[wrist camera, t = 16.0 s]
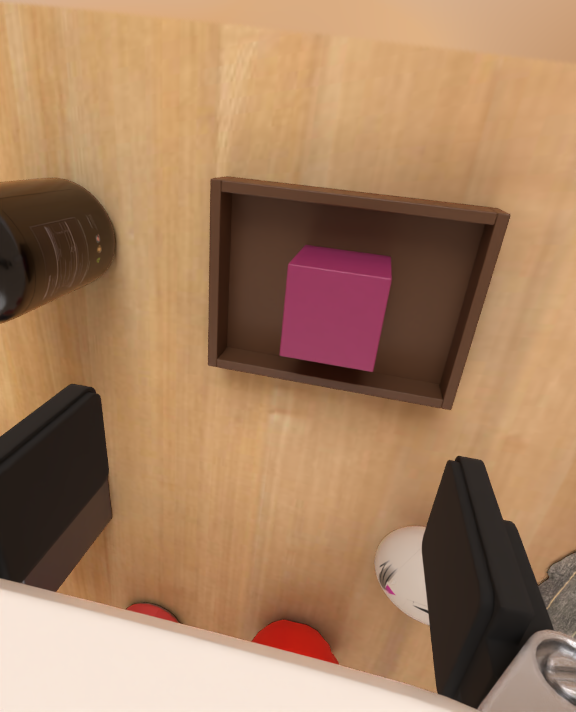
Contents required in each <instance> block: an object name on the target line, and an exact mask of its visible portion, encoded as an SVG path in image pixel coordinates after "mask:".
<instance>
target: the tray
mask: <svg viewBox="0 0 576 712" xmlns="http://www.w3.org/2000/svg"><path fill="white" fill-rule="evenodd" d="M509 219H510V214H508V213H506V212H504V211H502V210H500V209H498V208H491V207H483V206H474V205H466V204H457V203H449V202H440V201H432V200H423V199H415V198H406V197H398V196H389V195H381V194H372V193H364V192H355V191H346V190H338V189H329V188H321V187H312V186H304V185H295V184H287V183H278V182H270V181H261V180H253V179H244V178H236V177H220V178H213V179H211V191H210V261H209V332H208V365H209V366H214V367H219V368H224V369H230V370H235V371H241V372H246V373H252V374H257V375H263V376H268V377H273V378H279V379H284V380H290V381H295V382H301V383H306V384H312V385H317V386H322V387H328V388H333V389H339V390H344V391H350V392H355V393H361V394H366V395H371V396H377V397H382V398H388V399H393V400H399V401H404V402H409V403H415V404H420V405H426V406H431V407H437V408H443V409H448V410H451V409H452V405H453V402H454V399H455V396H456V392H457V389H458V386H459V382H460V379H461V376H462V373H463V369H464V366H465V363H466V359H467V356H468V353H469V350H470V346H471V343H472V340H473V337H474V333H475V330H476V327H477V323H478V320H479V317H480V314H481V310H482V307H483V304H484V301H485V297H486V294H487V291H488V287H489V284H490V281H491V278H492V274H493V271H494V268H495V264H496V261H497V258H498V255H499V251H500V248H501V245H502V242H503V238H504V235H505V232H506V228H507V225H508V222H509ZM305 245H311V246H318V247H326V248H333V249H340V250H348V251H355V252H362V253H369V254H377V255H384V256H390V257H391V270H392V282H391V287H390V291H389V296H388V301H387V306H386V311H385V316H384V321H383V326H382V331H381V336H380V341H379V346H378V351H377V356H376V360H375V365H374V370H373V372H370V371H364V370H358V369H352V368H347V367H341V366H335V365H330V364H324V363H318V362H313V361H307V360H301V359H296V358H290V357H284V356H280V344H281V333H282V322H283V312H284V301H285V290H286V280H287V269H288V264H289V263H290V262H291V260H292V259H293V258H294V257H295V256H296V255H297V254H298V253H299V252H300V250H301V249H302V248H303V247H304V246H305Z"/></svg>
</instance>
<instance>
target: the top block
mask: <svg viewBox="0 0 576 712" xmlns="http://www.w3.org/2000/svg"><path fill="white" fill-rule="evenodd" d="M391 282H392V270H391V257H390V256H384V255H377V254H369V253H362V252H355V251H348V250H340V249H333V248H326V247H318V246H311V245H305V246H304V247H303V248H302V249H301V250H300V252H299V253H298V254H297V255H296V256H295V257H294V258H293V259H292V260H291V262H290V263H289V264H288V269H287V280H286V290H285V301H284V312H283V322H282V333H281V344H280V356H284V357H290V358H296V359H301V360H307V361H313V362H318V363H324V364H330V365H335V366H341V367H347V368H352V369H358V370H364V371H370V372H373V370H374V365H375V360H376V356H377V351H378V346H379V341H380V336H381V331H382V326H383V321H384V316H385V311H386V306H387V301H388V296H389V291H390V287H391Z"/></svg>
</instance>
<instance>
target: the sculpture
mask: <svg viewBox="0 0 576 712" xmlns="http://www.w3.org/2000/svg"><path fill="white" fill-rule="evenodd" d="M547 573H548V575H549V579H548V580H546V581H544V582H543V583H542V584H540V585H539V586H538V587H539V590H540V592H541V595H542V598H543V601H544V603H545V606H546V609H547V612H548V614H549V617H550V620H551V622H552V625H553V628H554V631H559V632H562V633H564V634H567V635H569V636H572V637H574V638H575V639H576V552H575V553H573V554H571V555H569V556H567V557H566V558H564V559H563V560H561V561H559V562H557V563H555V564H553V565H552V566H551V567H550V569H549V570H548V572H547Z"/></svg>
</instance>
